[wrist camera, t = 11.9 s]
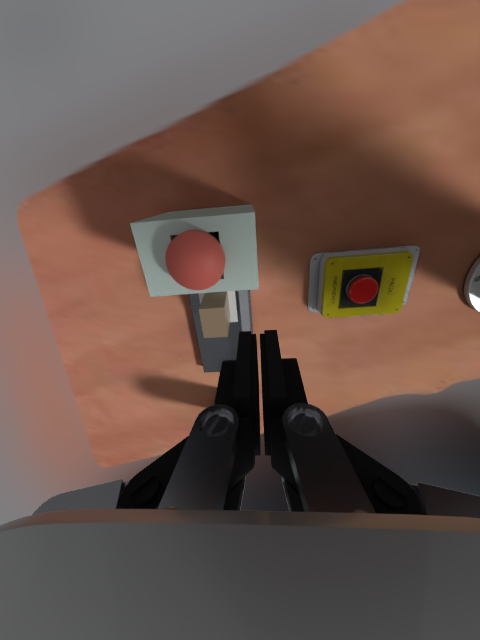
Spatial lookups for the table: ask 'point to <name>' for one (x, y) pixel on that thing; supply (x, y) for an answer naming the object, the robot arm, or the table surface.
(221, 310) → the carriage
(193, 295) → the track
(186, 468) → the robot arm
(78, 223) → the table surface
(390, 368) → the table surface
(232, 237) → the cabinet
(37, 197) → the table surface
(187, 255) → the button
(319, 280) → the emergency button
